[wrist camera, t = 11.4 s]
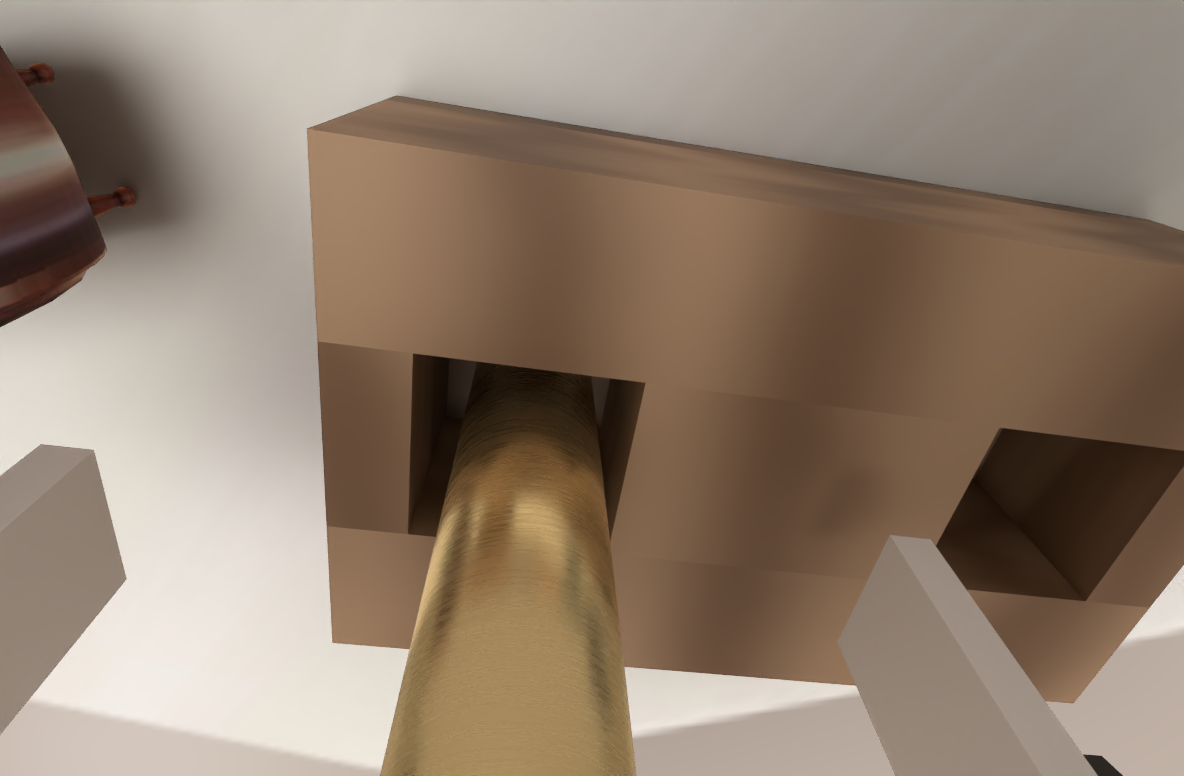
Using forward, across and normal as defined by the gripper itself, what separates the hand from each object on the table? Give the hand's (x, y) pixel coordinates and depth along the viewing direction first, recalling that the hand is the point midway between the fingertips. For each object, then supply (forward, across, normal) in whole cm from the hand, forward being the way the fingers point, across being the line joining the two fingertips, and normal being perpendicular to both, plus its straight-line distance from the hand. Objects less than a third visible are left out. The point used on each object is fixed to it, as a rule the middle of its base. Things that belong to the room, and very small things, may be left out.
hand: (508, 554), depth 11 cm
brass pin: (+8, 0, 0) cm, 8 cm away
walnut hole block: (+9, -6, 0) cm, 11 cm away
